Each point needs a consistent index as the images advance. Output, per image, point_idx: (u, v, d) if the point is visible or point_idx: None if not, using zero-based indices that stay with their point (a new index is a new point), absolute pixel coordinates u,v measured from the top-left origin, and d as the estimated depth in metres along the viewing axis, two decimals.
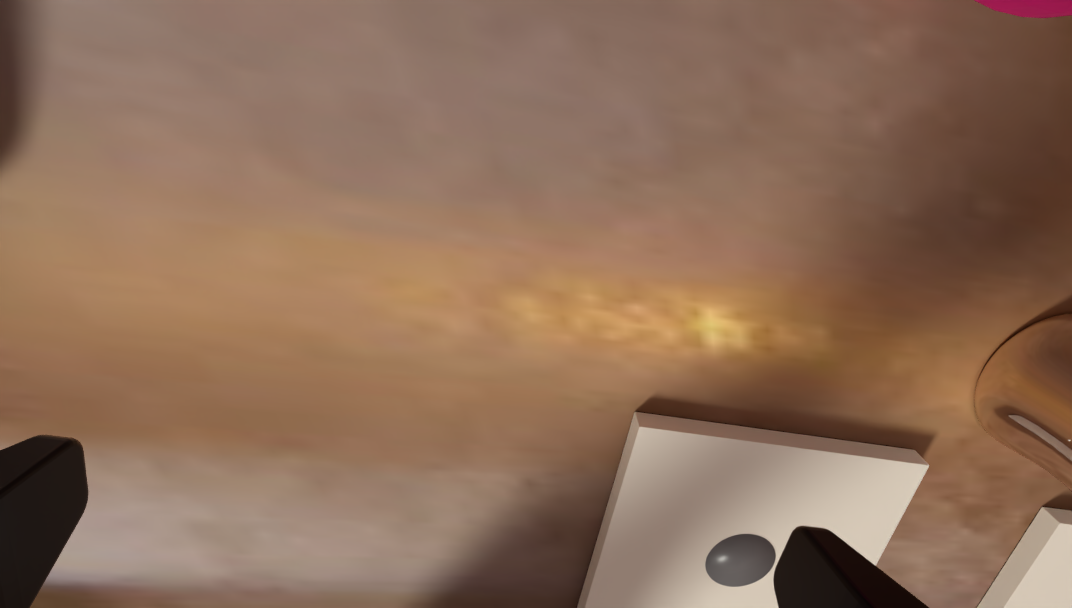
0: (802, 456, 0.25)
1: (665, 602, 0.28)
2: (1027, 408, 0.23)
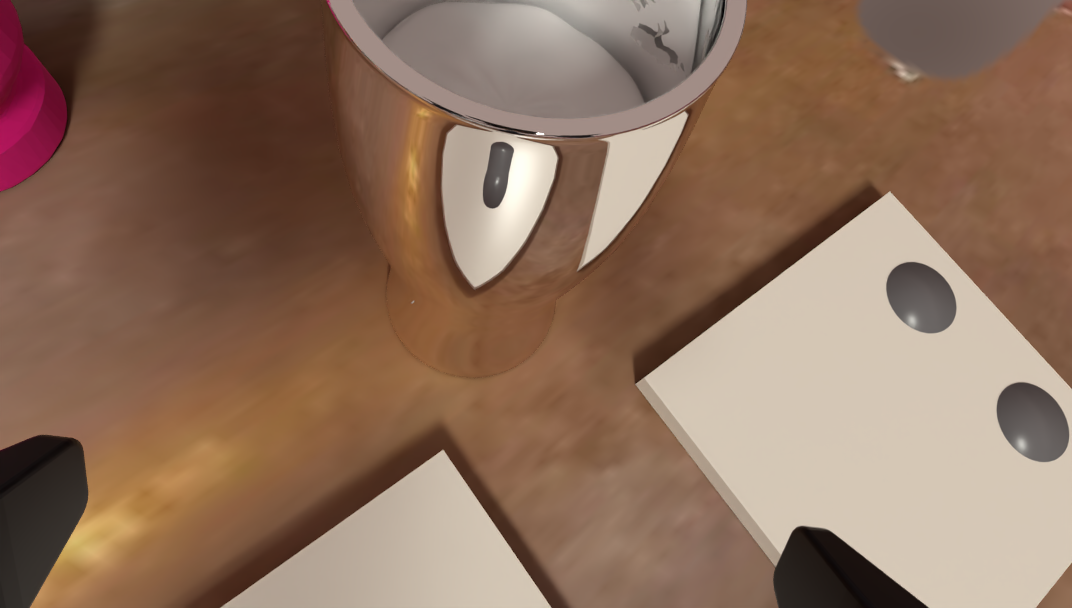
0: (298, 567, 0.19)
1: None
2: (411, 322, 0.20)
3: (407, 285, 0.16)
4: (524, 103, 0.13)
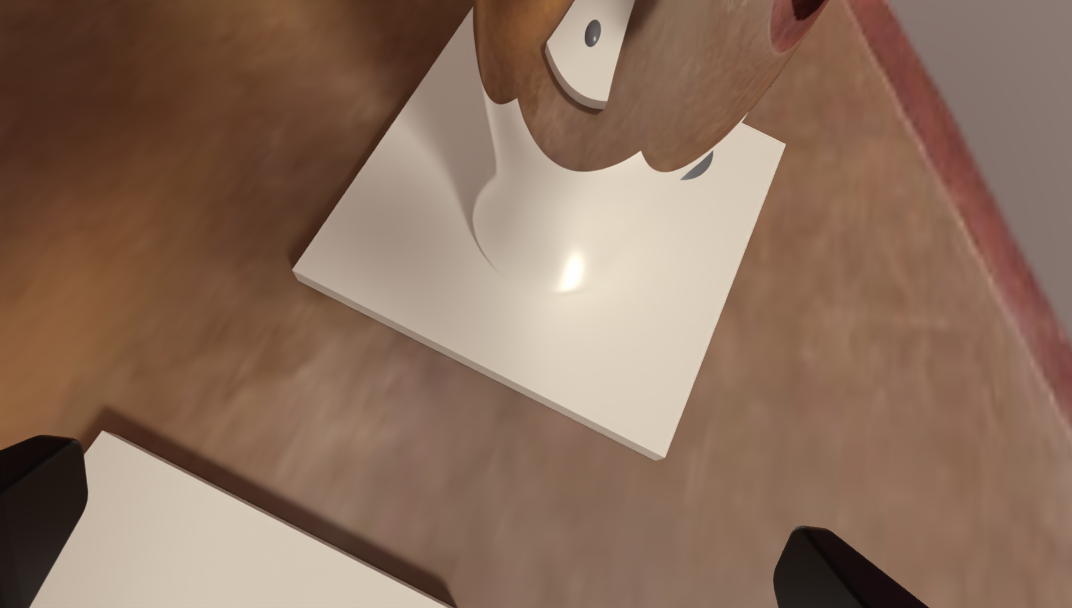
0: None
1: None
2: (504, 233, 0.21)
3: (520, 175, 0.17)
4: None
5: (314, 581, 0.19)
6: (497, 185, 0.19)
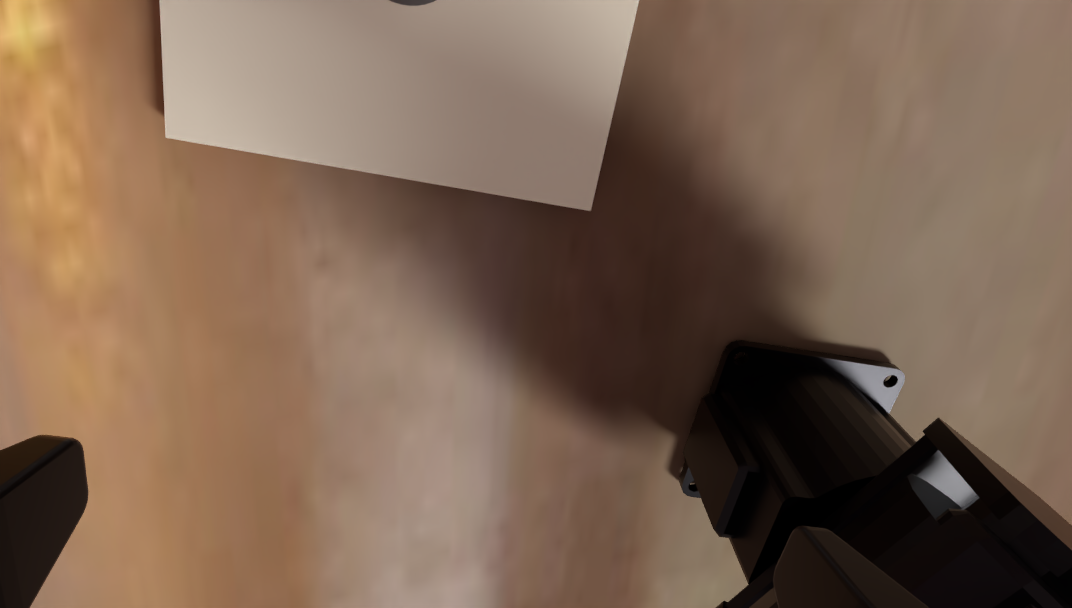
0: None
1: (505, 68, 0.17)
2: None
3: None
4: None
5: None
6: None
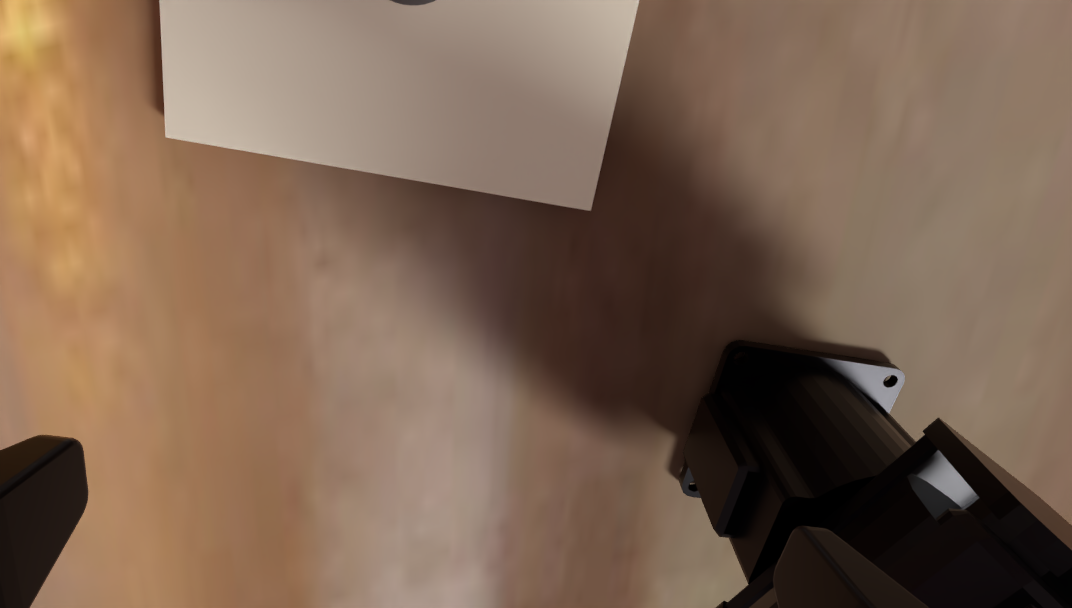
0: None
1: (505, 67, 0.17)
2: None
3: None
4: None
5: None
6: None
